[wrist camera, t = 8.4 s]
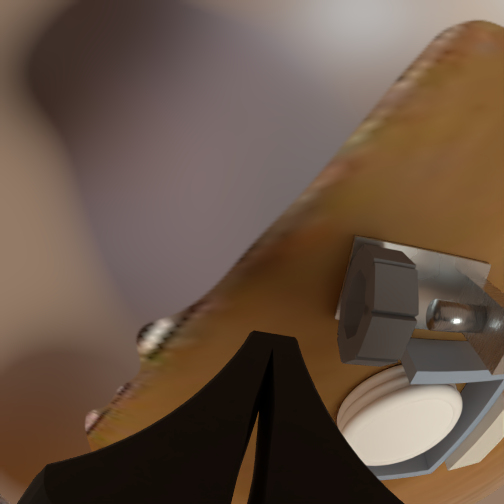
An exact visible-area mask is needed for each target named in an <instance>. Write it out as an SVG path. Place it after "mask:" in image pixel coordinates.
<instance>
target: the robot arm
mask: <svg viewBox="0 0 504 504" xmlns="http://www.w3.org/2000/svg"><path fill="white" fill-rule="evenodd" d="M258 411H259V417H258V429H257V441H256V452H255V463H254V472H253V479H252V484H251V489H250V493H249V498H248V502H247V504H404V503H403V502H402V501H401V500H400V499H398V498H397V497H396V496H395V495H394V494H393V493H392V492H391V491H390V490H389V489H388V488H386V487H385V486H384V484H383V483H382V482H381V481H380V480H379V479H378V478H377V477H376V476H375V475H374V474H373V472H372V471H371V470H370V469H369V468H368V467H367V466H366V465H365V464H364V463H363V461H362V460H361V459H360V458H359V457H358V455H357V454H356V453H355V451H354V450H353V449H352V447H351V446H350V445H349V443H348V442H347V441H346V439H345V438H344V436H343V435H342V433H341V432H340V430H339V429H338V427H337V426H336V424H335V423H334V421H333V419H332V418H331V416H330V414H329V413H328V411H327V409H326V407H325V405H324V404H323V402H322V400H321V398H320V396H319V394H318V392H317V390H316V388H315V386H314V383H313V381H312V379H311V377H310V375H309V372H308V370H307V368H306V365H305V362H304V360H303V357H302V354H301V351H300V348H299V345H298V341H297V340H296V338H295V337H289V336H283V335H277V334H271V333H265V332H259V331H253V332H251V333H250V334H249V336H248V337H247V339H246V341H245V342H244V344H243V345H242V346H241V348H240V349H239V350H238V352H237V353H236V354H235V355H234V357H233V358H232V359H231V360H230V361H229V362H228V363H227V364H226V365H225V367H224V368H223V369H222V370H221V371H220V372H219V373H218V374H217V375H216V376H215V377H214V378H213V379H212V380H211V381H210V382H208V383H207V384H206V385H205V386H204V387H203V388H202V389H201V390H200V391H199V392H197V393H196V394H195V395H194V396H193V397H191V398H190V399H189V400H188V401H186V402H185V403H184V404H182V405H181V406H179V407H178V408H177V409H175V410H174V411H173V412H171V413H170V414H168V415H166V416H165V417H163V418H162V419H160V420H158V421H157V422H155V423H154V424H152V425H150V426H149V427H147V428H145V429H143V430H141V431H139V432H138V433H136V434H134V435H131V436H129V437H127V438H125V439H123V440H120V441H118V442H116V443H114V444H111V445H109V446H107V447H104V448H102V449H99V450H97V451H94V452H91V453H88V454H84V455H81V456H77V457H74V458H70V459H67V460H63V461H59V462H55V463H51V464H47V465H46V466H45V467H44V469H43V470H42V471H41V472H40V473H39V474H38V475H37V476H36V477H35V478H34V479H33V481H32V482H31V484H30V485H29V487H28V488H27V489H26V491H25V492H24V494H23V496H22V497H21V498H20V500H19V501H18V503H17V504H231V501H232V497H233V493H234V489H235V485H236V481H237V477H238V473H239V470H240V466H241V463H242V461H243V458H244V455H245V452H246V449H247V446H248V443H249V440H250V437H251V434H252V430H253V427H254V424H255V421H256V418H257V415H258ZM0 504H11V503H10V502H9V501H8V500H6V499H5V498H4V497H3V496H2V495H1V494H0Z"/></svg>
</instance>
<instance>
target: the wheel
mask: <svg viewBox="0 0 504 504" xmlns="http://www.w3.org/2000/svg"><path fill="white" fill-rule="evenodd" d="M415 268H416V264H415V263H414V262H413V261H412V260H410V259H409V258H408V257H407V256H406V255H405V254H404V253H403V252H402V251H398V250H393V249H388V248H382V247H377V246H372V245H366V244H364V245H362V247H361V248H360V250H359V251H358V253H357V254H356V256H355V257H354V259H353V260H352V262H351V265H350V268H349V272H348V275H347V279H346V283H345V287H344V291H343V294H342V299H343V300H342V301H341V307H340V317H339V326H338V335H339V336H338V339H337V340H338V346H339V352H340V358H341V362H342V363H345V364H356V365H368V366H385V365H389V364H394V363H398V360H400V359H401V357H402V355H403V353H404V351H405V349H406V347H407V344H408V342H409V340H410V338H411V336H412V333H413V331H414V329H415V326H416V324H417V320H416V318H415V316H417V315H419V289H418V270H415Z"/></svg>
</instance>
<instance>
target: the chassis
mask: <svg viewBox="0 0 504 504" xmlns="http://www.w3.org/2000/svg"><path fill="white" fill-rule="evenodd" d="M400 360H401V363H402V365H403V368H404V370H405V373H406V375H407V378H408V380H409V383H410V384H451V383H467V384H466V386H465V387H464V389H463V390H462V392H461V393H460V395H461V397H462V412H461V415H460V417H459V419H458V421H457V423H456V424H455V426H454V427H453V429H452V430H451V431H450V432H449V433H448V434H447V435H446V436H445V437H444V438H443V439H442V440H441V441H440V442H439V443H437V444H436V445H435V446H433V447H432V448H430V449H429V450H427V451H425V452H423V453H421V454H419V455H417V456H415V457H413V458H410V459H408V460H405V461H402V462H398V463H394V464H389V465H381V466H367V465H366V466H367V467H368V468H369V469H370V470H371V471H372V472H373V474H374V475H375V476H376V477H377V478H378V479H379V480H388V479H397V478H405V477H412V476H419V475H425V474H430V473H432V472H433V471H434V470H435V469H436V468H437V467H438V466H440V465H441V464H442V463H443V462H444V461H445V463H446V466H447V470H452V469H456V468H460V467H464V466H468V465H471V464H474V463H478V462H480V461H481V460H482V459H483V458H484V457H485V456H486V455H487V454H488V453H489V452H490V451H491V450H492V449H493V448H494V447H495V446H496V445H497V444H498V443H499V441H500V440H501V439H502V438H503V437H504V374H501V375H491V373H490V372H489V370H488V369H487V367H486V366H485V364H484V363H483V362H482V360H481V359H480V357H479V356H478V354H477V353H476V352H475V350H474V349H473V347H472V346H471V345H470V343H469V342H468V341H448V340H431V339H417V338H410V340H409V342H408V344H407V347H406V349H405V351H404V353H403V355H402V357H401V359H400Z"/></svg>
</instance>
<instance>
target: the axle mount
mask: <svg viewBox="0 0 504 504" xmlns="http://www.w3.org/2000/svg"><path fill="white" fill-rule="evenodd" d="M364 244H366V245H372V246H377V247H382V248H388V249H393V250H398V251H402V252H403V253H404V254H405V255H406V256H407V257H408V258H409V259H410V260H412V261H413V262H414V263H415V264H416V268H415V270H418V289H419V315H417V316H415V318H416V320H417V324H416V326H415V328H417V329H428V330H433V331H446V332H461V333H462V334H463V335H464V337H465V338H466V339H467V341H468V342H469V343H470V345H471V346H472V347H473V349H474V350H475V352H476V353H477V354H478V356H479V357H480V359H481V360H482V362H483V363H484V364H485V366H486V367H487V369H488V370H489V372H490V373H491V375H501V374H504V293H502V292H501V291H500V290H499V289H498V288H497V287H495V286H494V285H493V284H492V283H490V282H489V281H488V280H487V276H488V273H489V270H490V267H491V264H489V263H487V262H483V261H478V260H474V259H470V258H465V257H461V256H457V255H452V254H448V253H443V252H438V251H434V250H429V249H424V248H420V247H415V246H410V245H405V244H400V243H395V242H390V241H385V240H380V239H374V238H369V237H364V236H359V235H354V240H353V244H352V249H351V253H350V257H349V261H348V265H347V270H346V274H345V277H344V281H343V285H342V289H341V293H340V296H339V300H338V304H337V307H336V311H335V314H334V318H335V319H338V320H339V317H340V307H341V301H342V300H343V299H342V294H343V291H344V287H345V283H346V279H347V275H348V272H349V268H350V265H351V262H352V260H353V259H354V257H355V256H356V254H357V253H358V251H359V250H360V248H361V247H362V245H364Z"/></svg>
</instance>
